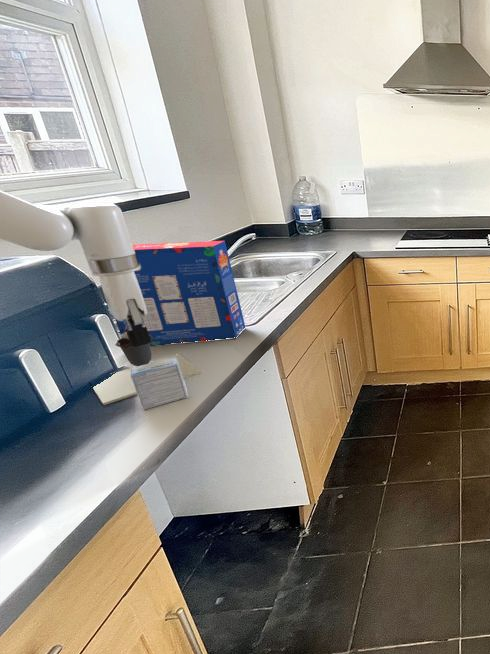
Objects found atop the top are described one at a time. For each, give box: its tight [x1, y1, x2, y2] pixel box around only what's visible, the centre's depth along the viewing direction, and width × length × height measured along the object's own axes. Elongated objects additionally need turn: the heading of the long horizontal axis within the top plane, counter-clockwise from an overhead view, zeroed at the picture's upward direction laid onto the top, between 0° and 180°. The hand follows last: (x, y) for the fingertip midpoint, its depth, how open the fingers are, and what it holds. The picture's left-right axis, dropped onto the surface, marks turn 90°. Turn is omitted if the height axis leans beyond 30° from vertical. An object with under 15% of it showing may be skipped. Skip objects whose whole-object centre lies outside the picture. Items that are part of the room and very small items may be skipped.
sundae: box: [115, 328, 153, 367], centre depth 98 cm, size 7×7×15 cm
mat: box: [92, 353, 201, 406], centre depth 101 cm, size 18×16×1 cm
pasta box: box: [114, 240, 246, 347], centre depth 119 cm, size 28×8×28 cm, turn 103°
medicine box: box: [131, 358, 189, 411], centre depth 91 cm, size 8×4×9 cm, turn 130°
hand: (141, 343), depth 93 cm, fingers closed
